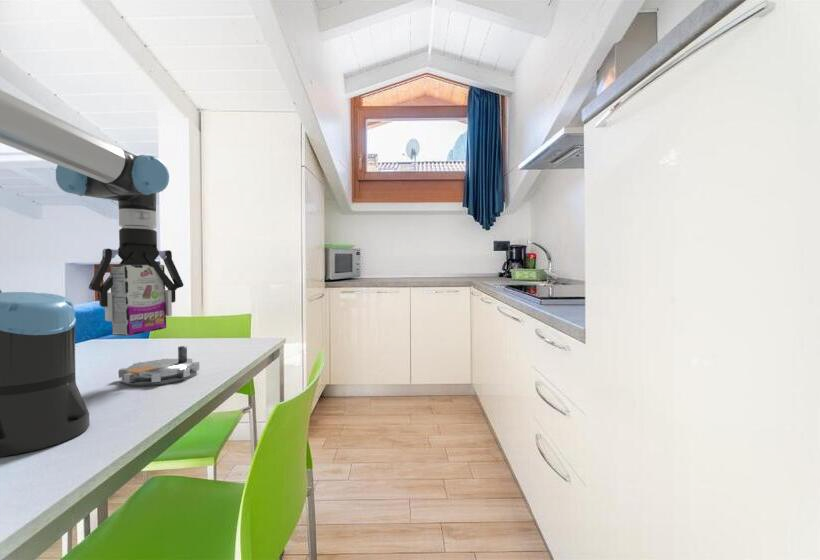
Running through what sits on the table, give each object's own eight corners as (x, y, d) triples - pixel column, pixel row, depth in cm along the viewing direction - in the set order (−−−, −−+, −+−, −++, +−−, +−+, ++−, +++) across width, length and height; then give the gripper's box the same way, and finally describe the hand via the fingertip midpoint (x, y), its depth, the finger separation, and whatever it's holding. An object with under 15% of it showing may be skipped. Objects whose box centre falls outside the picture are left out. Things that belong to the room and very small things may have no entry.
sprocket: (110, 386, 89) (110, 360, 89) (126, 368, 105) (126, 345, 104) (197, 377, 97) (197, 353, 96) (200, 362, 112) (200, 341, 112)
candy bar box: (150, 328, 103) (149, 264, 102) (167, 328, 102) (166, 264, 101) (109, 335, 92) (108, 264, 91) (127, 336, 91) (126, 264, 90)
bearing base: (134, 390, 89) (134, 387, 89) (113, 377, 99) (113, 374, 99) (207, 376, 102) (207, 372, 102) (181, 365, 112) (181, 363, 112)
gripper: (78, 223, 84) (81, 325, 85) (197, 231, 103) (198, 314, 104) (70, 225, 89) (72, 321, 90) (185, 232, 108) (186, 312, 108)
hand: (139, 318), depth 97 cm, fingers closed on candy bar box, 12 cm apart
